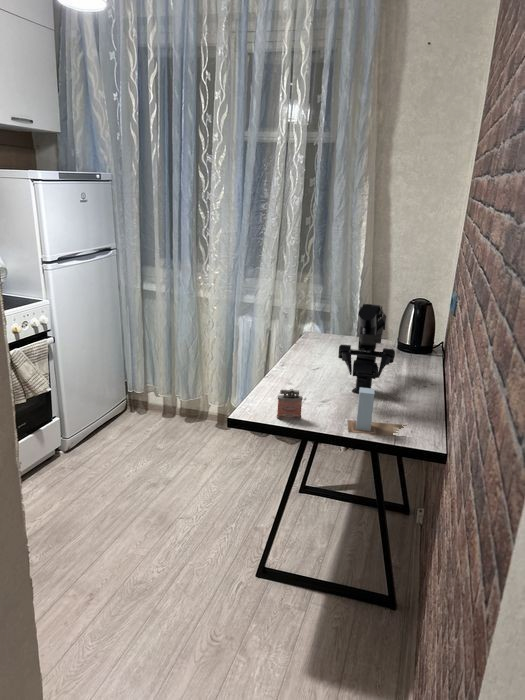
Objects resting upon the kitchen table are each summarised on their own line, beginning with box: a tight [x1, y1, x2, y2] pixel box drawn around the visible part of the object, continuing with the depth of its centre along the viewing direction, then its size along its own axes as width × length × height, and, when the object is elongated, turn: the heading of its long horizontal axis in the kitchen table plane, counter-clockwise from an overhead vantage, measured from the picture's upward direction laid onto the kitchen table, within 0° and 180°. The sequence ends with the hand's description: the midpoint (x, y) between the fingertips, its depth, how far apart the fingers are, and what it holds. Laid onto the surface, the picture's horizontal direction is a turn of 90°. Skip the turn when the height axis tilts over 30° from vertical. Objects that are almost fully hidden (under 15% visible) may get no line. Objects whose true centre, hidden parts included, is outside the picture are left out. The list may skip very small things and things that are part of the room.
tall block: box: [355, 387, 375, 431], centre depth 170 cm, size 4×4×12 cm
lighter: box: [276, 388, 303, 421], centre depth 175 cm, size 8×3×10 cm, turn 92°
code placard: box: [346, 419, 408, 437], centre depth 171 cm, size 20×9×1 cm, turn 83°
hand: (364, 376), depth 181 cm, fingers open, 9 cm apart
